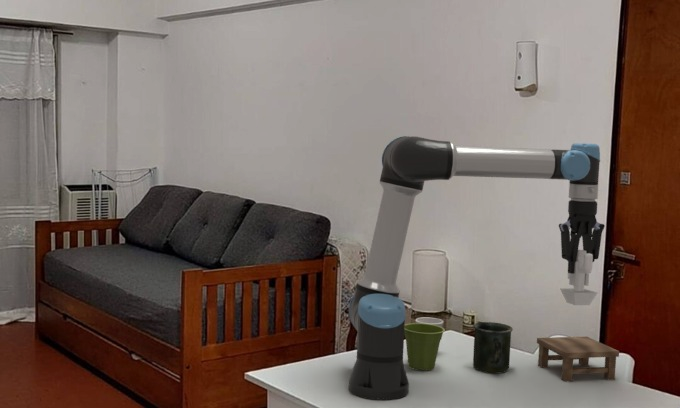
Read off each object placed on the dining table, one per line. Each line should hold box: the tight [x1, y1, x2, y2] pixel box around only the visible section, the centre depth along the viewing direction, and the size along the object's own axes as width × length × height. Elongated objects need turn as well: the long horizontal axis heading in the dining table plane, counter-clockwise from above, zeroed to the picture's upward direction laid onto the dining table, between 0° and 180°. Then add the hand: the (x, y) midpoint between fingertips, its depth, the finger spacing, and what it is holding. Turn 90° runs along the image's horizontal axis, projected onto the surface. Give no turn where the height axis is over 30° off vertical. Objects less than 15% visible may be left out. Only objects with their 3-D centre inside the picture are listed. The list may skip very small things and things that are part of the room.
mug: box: [472, 321, 514, 374], centre depth 212 cm, size 11×15×12 cm
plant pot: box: [404, 322, 446, 372], centre depth 212 cm, size 12×12×11 cm
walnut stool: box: [536, 336, 620, 383], centre depth 213 cm, size 16×16×8 cm
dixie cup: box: [415, 316, 444, 328], centre depth 227 cm, size 8×8×10 cm
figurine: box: [560, 249, 598, 306], centre depth 209 cm, size 7×9×15 cm
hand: (578, 284), depth 209 cm, fingers closed on figurine, 3 cm apart
